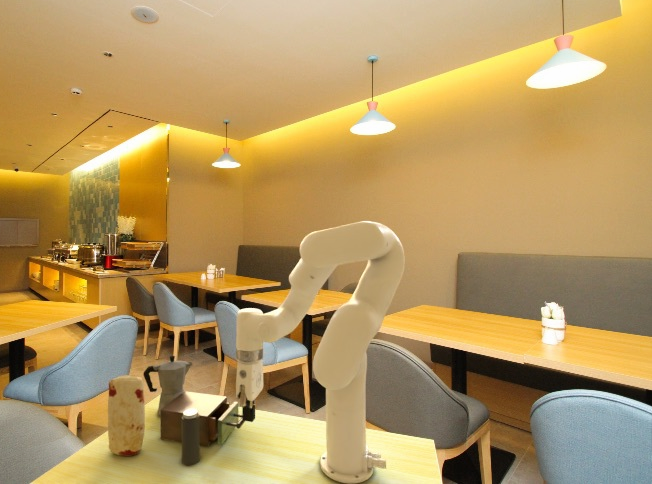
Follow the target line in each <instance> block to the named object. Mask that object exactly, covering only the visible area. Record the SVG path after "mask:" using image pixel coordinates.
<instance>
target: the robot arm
mask: <svg viewBox="0 0 652 484" xmlns="http://www.w3.org/2000/svg"><path fill="white" fill-rule="evenodd" d="M299 256H300V259H299V261H298V262H297V264H296V265H295V267H293V269H292V271H290V273H289V275H288V282H289V284H290V290H289V292H288V294H287V296H286V297H285V299H284V300H283V302H282V303H281V304H280V306H279V307H278V308H277V309H274V310H271V311H268V312H265V313H264V312H263V311H262V310H261V309H259V308H256V307H255V308H254V307H253V308H252V307H248V308H247V307H246V308H242V309H239V310H238V311H237V313H236V325H235V326H236V329H235V331H236V332H235V333H236V334H235V340H236V341H235V361H236V362H237V366H236V376H235V379H236V380H235V397H236V399H237V400H239V406H240V407H242V408H241V409H242V417H241V418H242V420H243V421H245V422H250V423H253V422H254V421H255V420H256V402H257V397H258V396H259V395H260V393H261V392H262V391H263V389H264V363H263V360H264V343H267V344H271V343H275V342H277V341H279V340H281V339H283V338H284V337H286V336H288V335H289V334H292V333H293V332H294V331H295V330H296V329H297V327H298V326H299V324H300V323H301V322H302V321H303V319H304V318H305V317H306V315H307V314H308V312H309V310H310V309H311V307H312V305H313V303H314V301H315V299H316V296H317V294H318V293H319V292H320V291H321V289H322V287H323V286H324V285H325V283H326V282H327V280H328V279H329V278H330V276H331V275H332V274H333V272H334V271H335V269H336V268H337V267H338V266H342V265H348V264H353V263H358V262H365V261H367V264H366V266H365V269H364V270H363V273H362V274H361V277H360V278H359V280H358V283H357V286H356V287H355V290H354V291H353V294H352V296H351V297H350V298H349V300H348V301H346V302H345V303H343V304H342V305H340V306H339V307H338V308H337V309H336V310H335V311H334V313H333V315H332V316H331V318H330V320H329V322H328V324H327V326H326V329H325V330H324V333H323V336H322V337H321V340H320V341H319V344H318V346H317V349H316V350H315V353H314V355H313V359H312V371H313V375H314V377H315V379H316V381H317V382H318V383H319V384H320V385H321V386H322V387H323V388H325V433H326V436H325V437H326V438H325V439H326V442H325V443H326V451H324V452H323V453H322V455H321V457H320V462H319V463H320V469H321V471H322V472H323V473H324V474H325V476H327V477H328V478H330V479H331V480H333V481H336V482H339V483H342V484H361V483H363V482H366V481H367V480H369V479H370V478H371V477H372V476H373V473H374V468H378V469H383V470H387V459H386V458H382V454H381V453H378V452H372V451H371V450H369V444H367V415H366V414H367V413H366V412H367V411H366V409H367V407H366V406H367V405H366V404H367V401H366V399H367V397H366V395H367V394H366V391H367V390H366V389H367V388H366V386H367V385H366V384H367V370H368V354H367V350H368V349H369V346H370V345H371V342H372V340H373V339H374V338H375V336H376V335H377V334H378V333H379V331H380V329H381V327H382V324H383V321H384V319H385V317H386V314H387V312H388V311H389V308H390V306H391V304H392V302H393V299H394V297H395V295H396V293H397V290H398V288H399V286H400V283H401V282H402V281H401V280H402V278H403V275H404V272H405V266H406V257H405V256H406V255H405V250H404V247H403V244H402V242H401V240H400V238H399V237H398V236H397V235H396V233H395V232H394V231H393V230H392V229H391V228H390V227H389V226H387V225H385V224H383V223H380V222H375V221H369V220H363V221H357V222H352V223H348V224H344V225H340V226H336V227H335V226H334V227H330V228H327V229H322V230H316V231H313V232H310V233H308V234H307V235H305V237H304V238H303V239H302V241H301V242H300V245H299Z"/></svg>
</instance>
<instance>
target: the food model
mask: <svg viewBox="0 0 652 484" xmlns="http://www.w3.org/2000/svg"><path fill="white" fill-rule="evenodd" d="M107 398H108V399H107V435H108V436H107V437H108V450H109V451H110V452H111V453H113V454H115V455H117V456H123V457H125V456H126V457H130V456H135V455H138V453H139V452H140V451H141V450H142V449H143V444H144V440H145V432H146V405H145V389H144V379H143V377H141V376H136V375H132V374H125V375H119V376H117V377H115V378H113V379H110V380H109V381H108V396H107Z"/></svg>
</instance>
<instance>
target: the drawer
mask: <svg viewBox="0 0 652 484" xmlns="http://www.w3.org/2000/svg"><path fill="white" fill-rule="evenodd" d="M230 404H231V403H230V402H228V401H227V402H224V403H223V404H222V405H221V406H220V407H219V408H218V409H217V410H216V411H215V412H214V413H213V414H212V415H211V416H210V417H209V440H213V441H216V440H217V444H218V445H223V444H224V442H225V441H226V440H227V438H228V437H229V436H230V435H231V433H232V432H233V431H234V430H235V429H241V428H242V426H243V425H244V424H245V422H246V421H243V420H242V414H241V413H239V401H234V402H233V403H232V404H231V405H230Z"/></svg>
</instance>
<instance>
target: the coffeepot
mask: <svg viewBox="0 0 652 484" xmlns="http://www.w3.org/2000/svg"><path fill="white" fill-rule="evenodd" d="M175 359H176V356H175V355H169V360H168V361H164V362H160V363H159V364H155V365H149V366H147V367H146V369H145V370H144V371H143V378H144V380H145V382H146V385H147V387H148V390H149V392H150V393H156V392H157V391H158V387H155V388H154V387H153V382H152V380H151V374H150V373H157V374H158V380H159V388H161V393H160V396H159V403H158V409H157V415H158V416H160V410H161V409H162V408H163V407H165V406H166V405H167V404H169V403H170V402H171V401H173V400H174V399H175V398H177V397H178V396H179V395H180V394H182V393H183V392H184V391H185V389H184V385H185V382H186V375H187V374H188V372H189V370H190V368H191V367H192V366H193V365H194V364H193V362H192V361H184V360H177V359H176V360H175Z"/></svg>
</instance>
